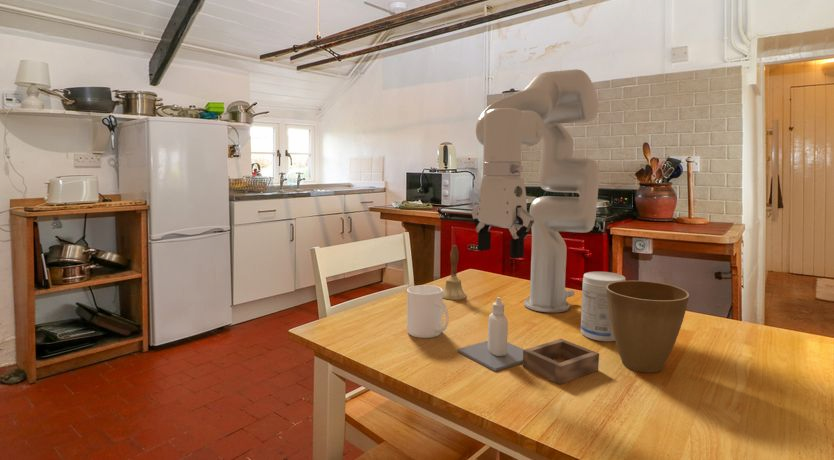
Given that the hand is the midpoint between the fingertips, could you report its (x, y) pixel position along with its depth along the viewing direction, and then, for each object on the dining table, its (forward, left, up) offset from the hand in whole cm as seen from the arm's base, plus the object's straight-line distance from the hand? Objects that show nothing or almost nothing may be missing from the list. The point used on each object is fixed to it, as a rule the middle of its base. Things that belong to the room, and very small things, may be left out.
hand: (499, 253), depth 99 cm
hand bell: (-20, -41, -22) cm, 51 cm away
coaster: (0, 0, -22) cm, 22 cm away
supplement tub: (-29, +5, -22) cm, 37 cm away
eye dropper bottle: (0, 0, -22) cm, 22 cm away
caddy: (-6, +12, -22) cm, 26 cm away
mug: (+5, -18, -22) cm, 29 cm away
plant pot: (-21, +20, -22) cm, 37 cm away
